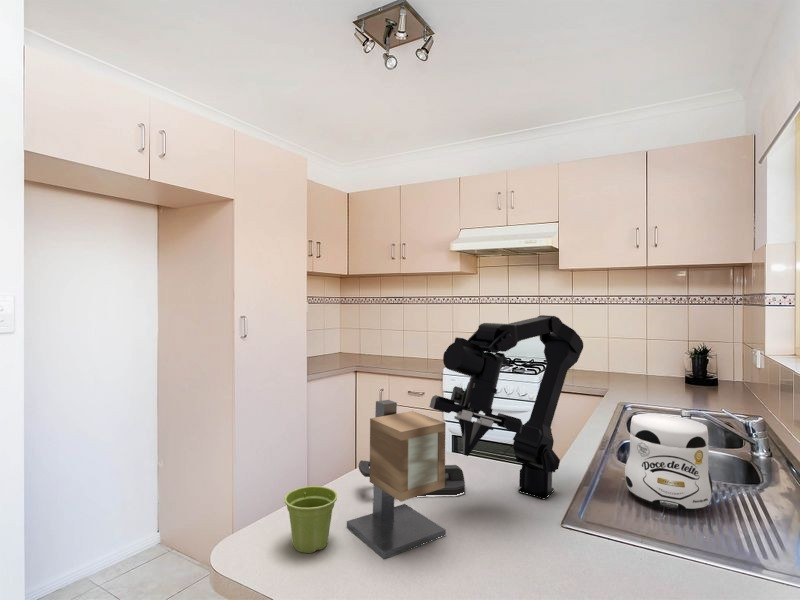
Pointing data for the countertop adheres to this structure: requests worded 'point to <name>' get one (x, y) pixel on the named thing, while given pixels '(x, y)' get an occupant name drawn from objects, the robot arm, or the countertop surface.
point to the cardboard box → (407, 454)
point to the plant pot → (310, 516)
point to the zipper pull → (452, 479)
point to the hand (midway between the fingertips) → (465, 455)
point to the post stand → (392, 517)
